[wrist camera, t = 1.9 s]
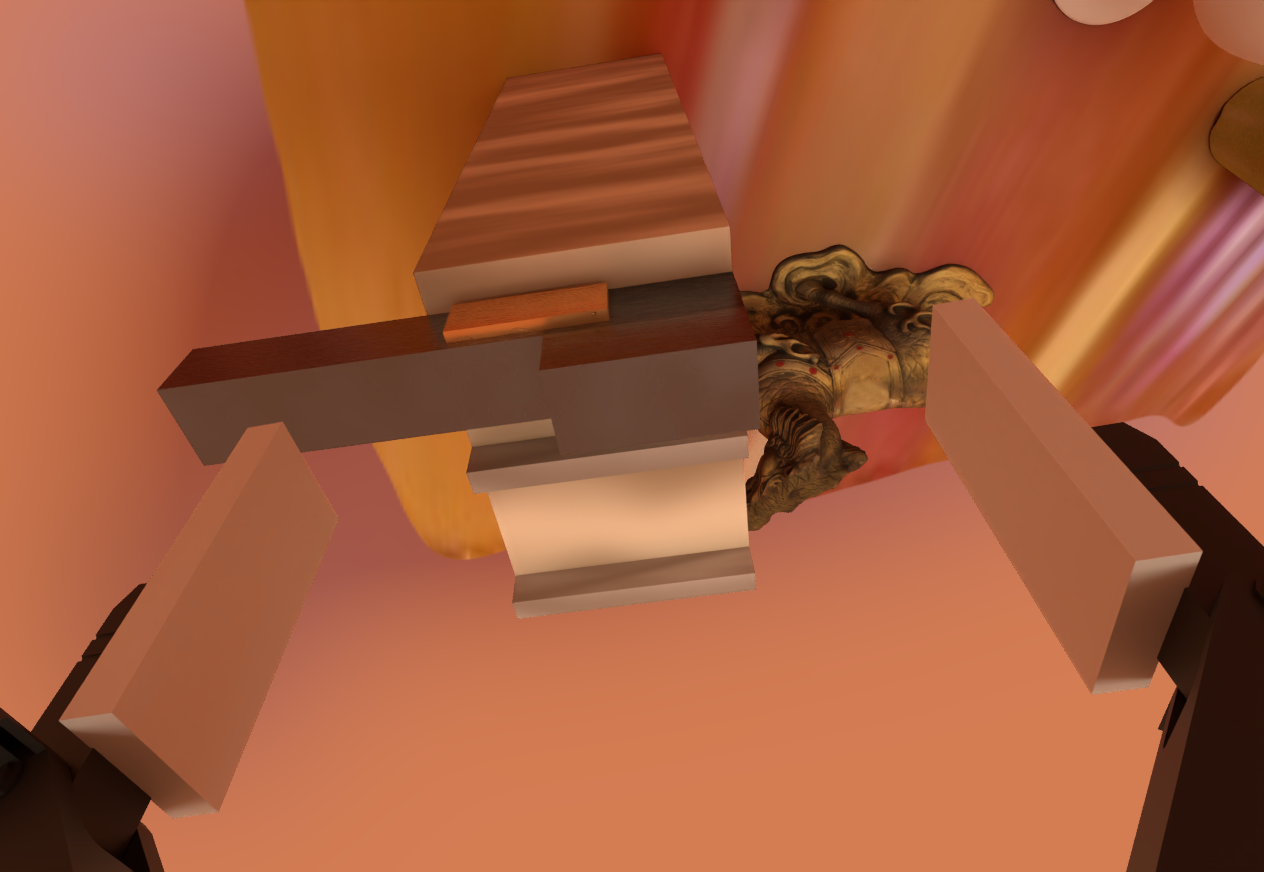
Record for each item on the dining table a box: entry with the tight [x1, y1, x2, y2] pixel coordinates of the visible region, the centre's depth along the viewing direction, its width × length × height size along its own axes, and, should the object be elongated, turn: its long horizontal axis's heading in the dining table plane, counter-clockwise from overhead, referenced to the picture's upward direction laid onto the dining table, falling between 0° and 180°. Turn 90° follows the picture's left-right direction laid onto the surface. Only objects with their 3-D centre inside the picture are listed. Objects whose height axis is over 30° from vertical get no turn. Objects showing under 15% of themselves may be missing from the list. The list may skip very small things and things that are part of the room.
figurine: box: [739, 245, 994, 531], centre depth 51 cm, size 13×25×20 cm, turn 100°
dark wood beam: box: [157, 272, 760, 466], centre depth 23 cm, size 3×18×4 cm, turn 98°
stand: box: [413, 53, 756, 619], centre depth 39 cm, size 16×10×32 cm, turn 8°
